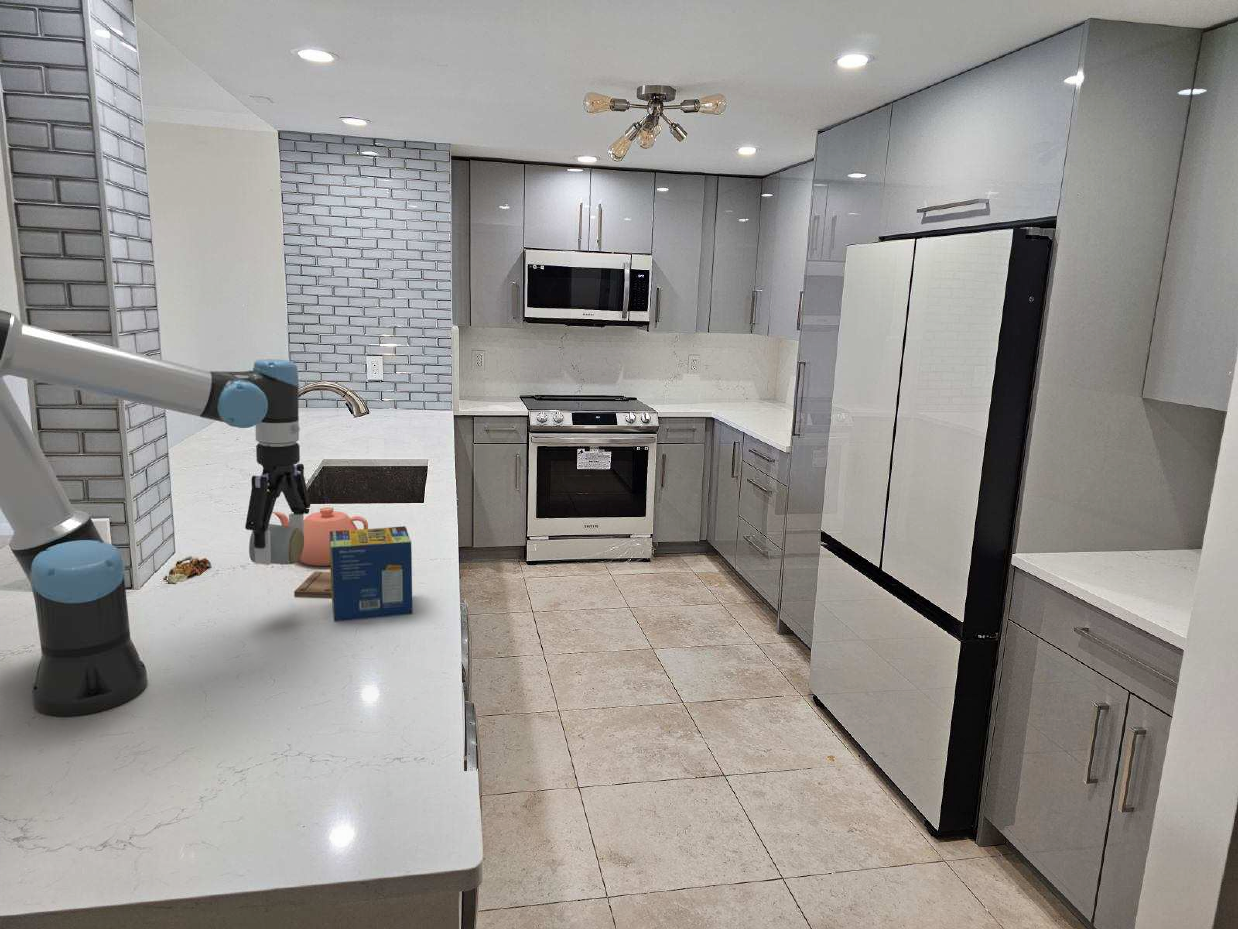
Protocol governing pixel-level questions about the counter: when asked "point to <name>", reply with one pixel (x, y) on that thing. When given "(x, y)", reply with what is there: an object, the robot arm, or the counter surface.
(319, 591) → the walnut board
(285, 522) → the teapot
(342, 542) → the protein box
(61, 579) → the robot arm
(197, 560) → the grilled chicken meal
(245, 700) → the counter surface
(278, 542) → the ceramic mug
